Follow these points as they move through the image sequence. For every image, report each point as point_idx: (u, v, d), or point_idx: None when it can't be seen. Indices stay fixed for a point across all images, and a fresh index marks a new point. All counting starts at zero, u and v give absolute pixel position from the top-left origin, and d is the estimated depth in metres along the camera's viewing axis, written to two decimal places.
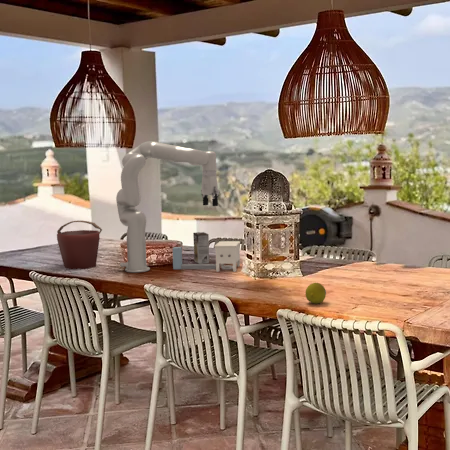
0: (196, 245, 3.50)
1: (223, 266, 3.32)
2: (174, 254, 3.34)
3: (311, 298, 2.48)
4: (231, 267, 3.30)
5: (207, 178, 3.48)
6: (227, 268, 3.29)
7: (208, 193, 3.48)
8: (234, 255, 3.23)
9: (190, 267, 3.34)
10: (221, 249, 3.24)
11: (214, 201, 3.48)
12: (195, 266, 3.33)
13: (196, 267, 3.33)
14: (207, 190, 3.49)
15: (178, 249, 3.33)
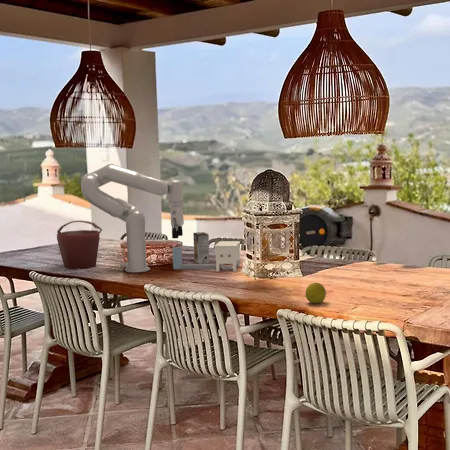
0: (196, 245, 3.50)
1: (223, 266, 3.32)
2: (174, 254, 3.34)
3: (311, 298, 2.48)
4: (231, 267, 3.30)
5: (181, 207, 3.35)
6: (227, 268, 3.29)
7: (183, 223, 3.36)
8: (234, 255, 3.23)
9: (190, 267, 3.34)
10: (221, 249, 3.24)
11: None
12: (195, 266, 3.33)
13: (196, 267, 3.33)
14: (182, 220, 3.35)
15: (178, 249, 3.33)
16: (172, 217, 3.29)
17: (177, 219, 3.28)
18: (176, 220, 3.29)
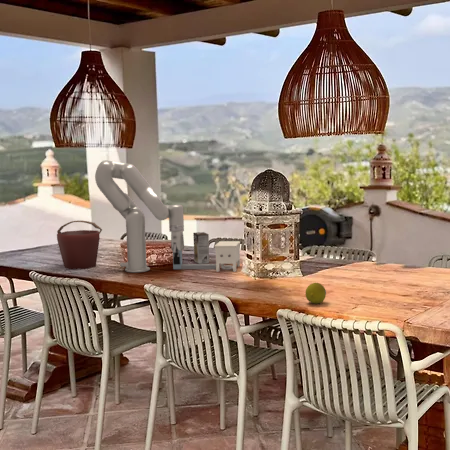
0: (196, 245, 3.50)
1: (223, 266, 3.32)
2: None
3: (311, 298, 2.48)
4: (231, 267, 3.30)
5: (182, 232, 3.36)
6: (227, 268, 3.29)
7: (183, 247, 3.38)
8: (234, 255, 3.23)
9: (190, 267, 3.34)
10: (221, 249, 3.24)
11: None
12: (195, 266, 3.33)
13: (196, 267, 3.33)
14: (183, 244, 3.37)
15: None
16: (173, 242, 3.30)
17: (177, 244, 3.30)
18: (177, 245, 3.30)
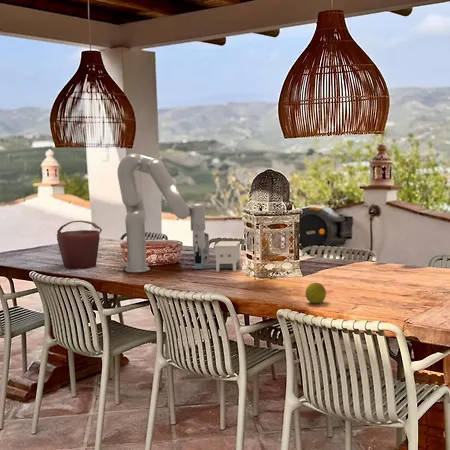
0: None
1: (239, 266, 3.31)
2: None
3: (311, 298, 2.48)
4: None
5: (203, 230, 3.34)
6: None
7: (204, 246, 3.36)
8: (234, 255, 3.23)
9: (211, 266, 3.32)
10: (221, 249, 3.24)
11: None
12: None
13: None
14: (204, 243, 3.35)
15: None
16: (194, 241, 3.28)
17: (199, 243, 3.28)
18: (199, 244, 3.28)
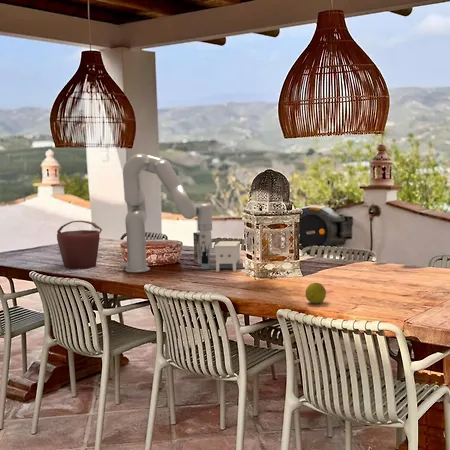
0: (196, 245, 3.50)
1: None
2: None
3: (311, 298, 2.48)
4: None
5: (210, 231, 3.34)
6: None
7: (211, 246, 3.35)
8: (234, 255, 3.23)
9: None
10: (221, 249, 3.24)
11: None
12: (223, 265, 3.31)
13: (224, 266, 3.31)
14: (211, 243, 3.34)
15: None
16: (201, 241, 3.28)
17: (206, 243, 3.27)
18: (206, 244, 3.28)
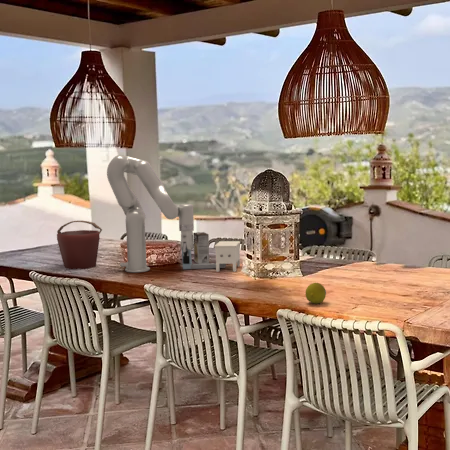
0: (196, 245, 3.50)
1: None
2: None
3: (311, 298, 2.48)
4: None
5: (192, 231, 3.35)
6: None
7: (193, 246, 3.37)
8: (234, 255, 3.23)
9: (200, 266, 3.33)
10: (221, 249, 3.24)
11: None
12: (205, 265, 3.32)
13: (206, 266, 3.32)
14: (192, 243, 3.36)
15: (187, 249, 3.32)
16: (182, 241, 3.29)
17: (187, 243, 3.29)
18: (187, 244, 3.29)
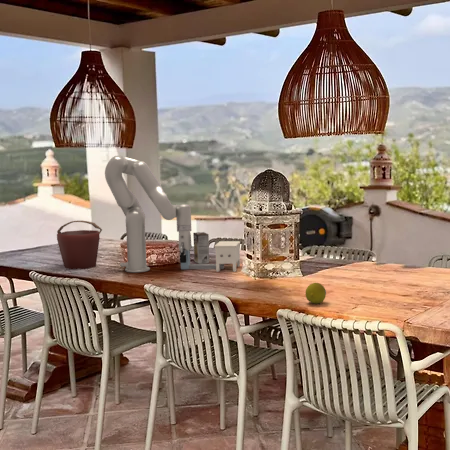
0: (196, 245, 3.50)
1: None
2: None
3: (311, 298, 2.48)
4: None
5: None
6: None
7: (191, 247, 3.37)
8: (234, 255, 3.23)
9: (198, 267, 3.33)
10: (221, 249, 3.24)
11: None
12: (203, 266, 3.33)
13: (204, 267, 3.33)
14: (190, 244, 3.36)
15: None
16: (180, 241, 3.30)
17: (185, 244, 3.29)
18: (185, 245, 3.29)
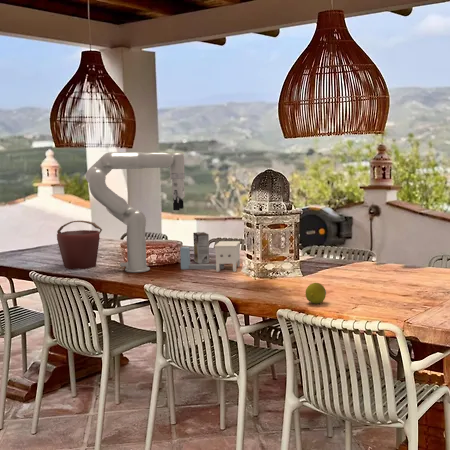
0: (196, 245, 3.50)
1: None
2: (182, 254, 3.33)
3: (311, 298, 2.48)
4: None
5: (183, 180, 3.39)
6: None
7: (184, 195, 3.41)
8: (234, 255, 3.23)
9: (198, 267, 3.33)
10: (221, 249, 3.24)
11: None
12: (203, 266, 3.33)
13: (204, 267, 3.33)
14: (184, 193, 3.40)
15: (186, 249, 3.33)
16: (173, 189, 3.33)
17: (178, 191, 3.33)
18: (178, 193, 3.33)
